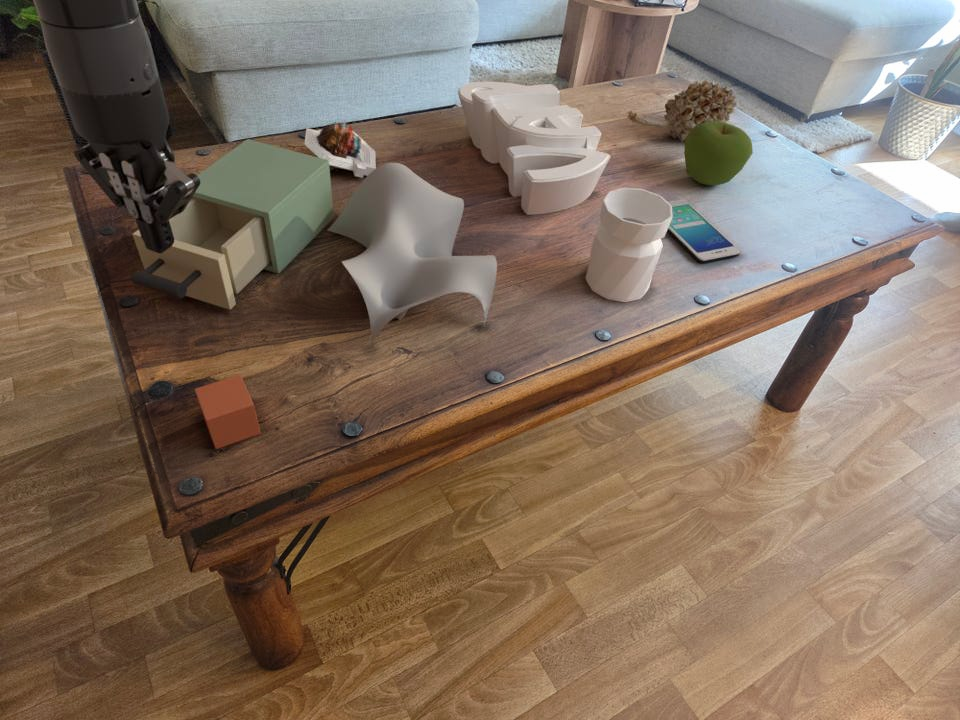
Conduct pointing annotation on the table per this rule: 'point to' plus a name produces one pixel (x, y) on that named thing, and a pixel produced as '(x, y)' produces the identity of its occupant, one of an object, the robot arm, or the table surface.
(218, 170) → the cabinet
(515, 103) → the wavy white extrusion
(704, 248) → the smartphone
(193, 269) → the drawer
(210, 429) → the block
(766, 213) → the table surface
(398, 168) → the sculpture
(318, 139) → the mineral specimen
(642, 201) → the vase
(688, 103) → the dried hydrangea flower
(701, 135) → the apple
